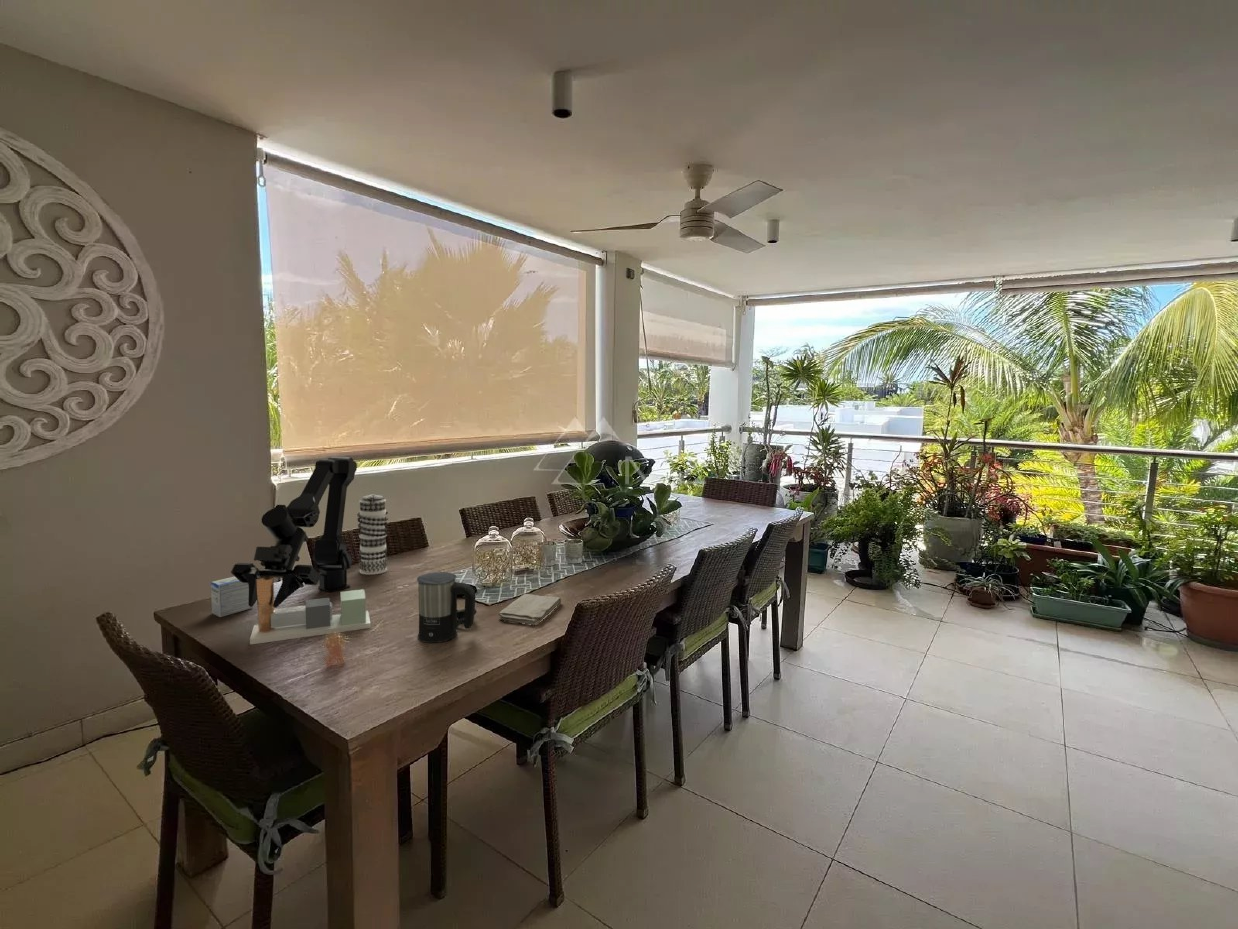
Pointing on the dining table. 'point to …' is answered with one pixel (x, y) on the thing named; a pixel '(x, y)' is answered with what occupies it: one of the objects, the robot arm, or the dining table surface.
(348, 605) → the socket block
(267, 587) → the tube
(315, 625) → the tube stand
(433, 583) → the milk frother
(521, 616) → the washcloth
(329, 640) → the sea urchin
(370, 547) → the decorative candle
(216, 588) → the medicine box
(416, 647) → the dining table surface
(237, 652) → the dining table surface
